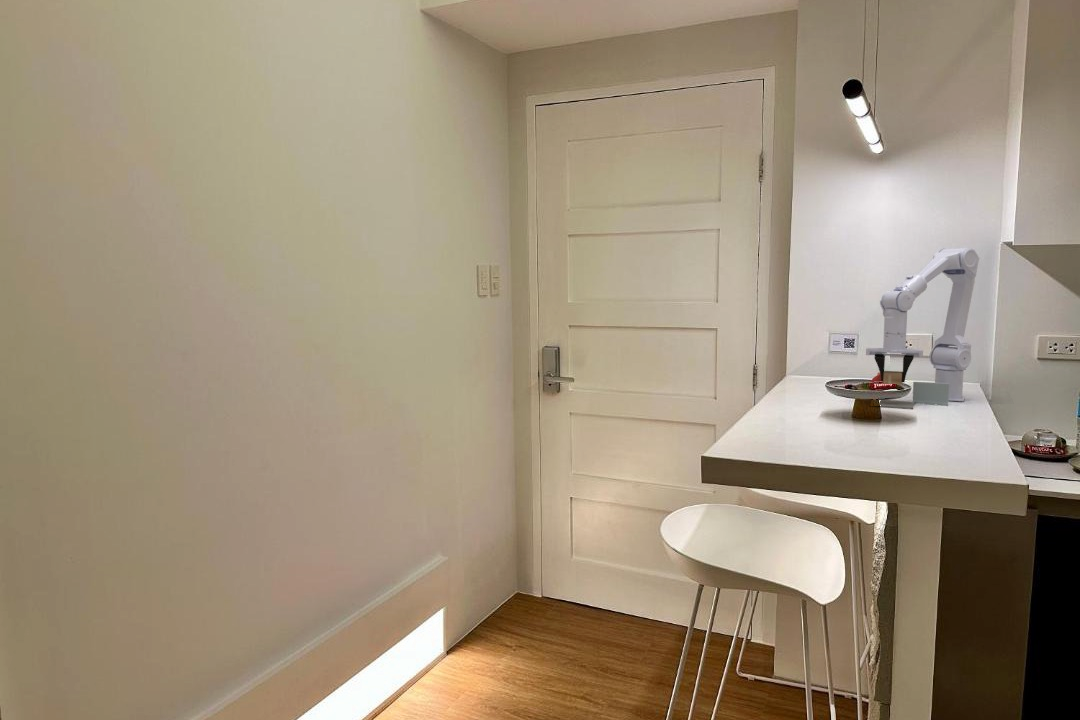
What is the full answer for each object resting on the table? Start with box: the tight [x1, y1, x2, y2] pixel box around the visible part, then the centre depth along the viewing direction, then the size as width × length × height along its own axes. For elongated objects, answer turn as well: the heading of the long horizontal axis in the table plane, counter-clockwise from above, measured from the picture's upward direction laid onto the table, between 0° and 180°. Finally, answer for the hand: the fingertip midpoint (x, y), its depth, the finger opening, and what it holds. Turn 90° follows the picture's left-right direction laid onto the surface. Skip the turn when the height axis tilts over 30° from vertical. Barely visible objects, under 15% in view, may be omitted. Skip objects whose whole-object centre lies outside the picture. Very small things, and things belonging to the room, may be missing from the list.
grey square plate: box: [880, 399, 915, 410], centre depth 214 cm, size 11×11×1 cm
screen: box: [911, 381, 949, 406], centre depth 215 cm, size 3×9×6 cm, turn 62°
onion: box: [869, 371, 881, 383], centre depth 224 cm, size 6×6×8 cm
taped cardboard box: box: [883, 370, 903, 385], centre depth 213 cm, size 5×5×5 cm
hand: (892, 381), depth 213 cm, fingers closed on taped cardboard box, 5 cm apart
